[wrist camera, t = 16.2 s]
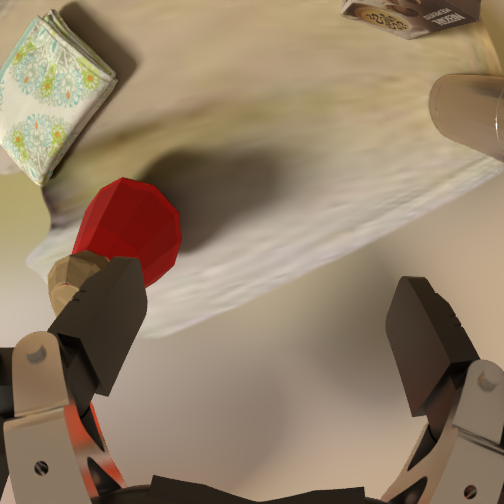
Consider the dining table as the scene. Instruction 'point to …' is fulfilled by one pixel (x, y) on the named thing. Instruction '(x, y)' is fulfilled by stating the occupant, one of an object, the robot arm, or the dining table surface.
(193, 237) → the dining table surface
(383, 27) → the coffee box
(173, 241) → the bottle
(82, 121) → the towel
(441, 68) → the dining table surface
